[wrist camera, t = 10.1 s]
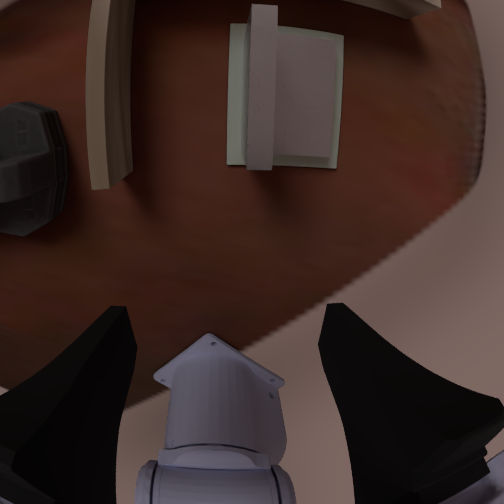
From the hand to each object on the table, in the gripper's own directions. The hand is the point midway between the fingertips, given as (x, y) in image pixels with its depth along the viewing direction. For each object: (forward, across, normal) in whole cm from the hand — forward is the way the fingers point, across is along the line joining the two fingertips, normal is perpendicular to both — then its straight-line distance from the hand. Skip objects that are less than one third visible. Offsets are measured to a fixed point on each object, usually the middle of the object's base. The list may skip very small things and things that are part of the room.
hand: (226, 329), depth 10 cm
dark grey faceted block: (+10, +23, -6) cm, 25 cm away
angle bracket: (+9, -3, -8) cm, 13 cm away
